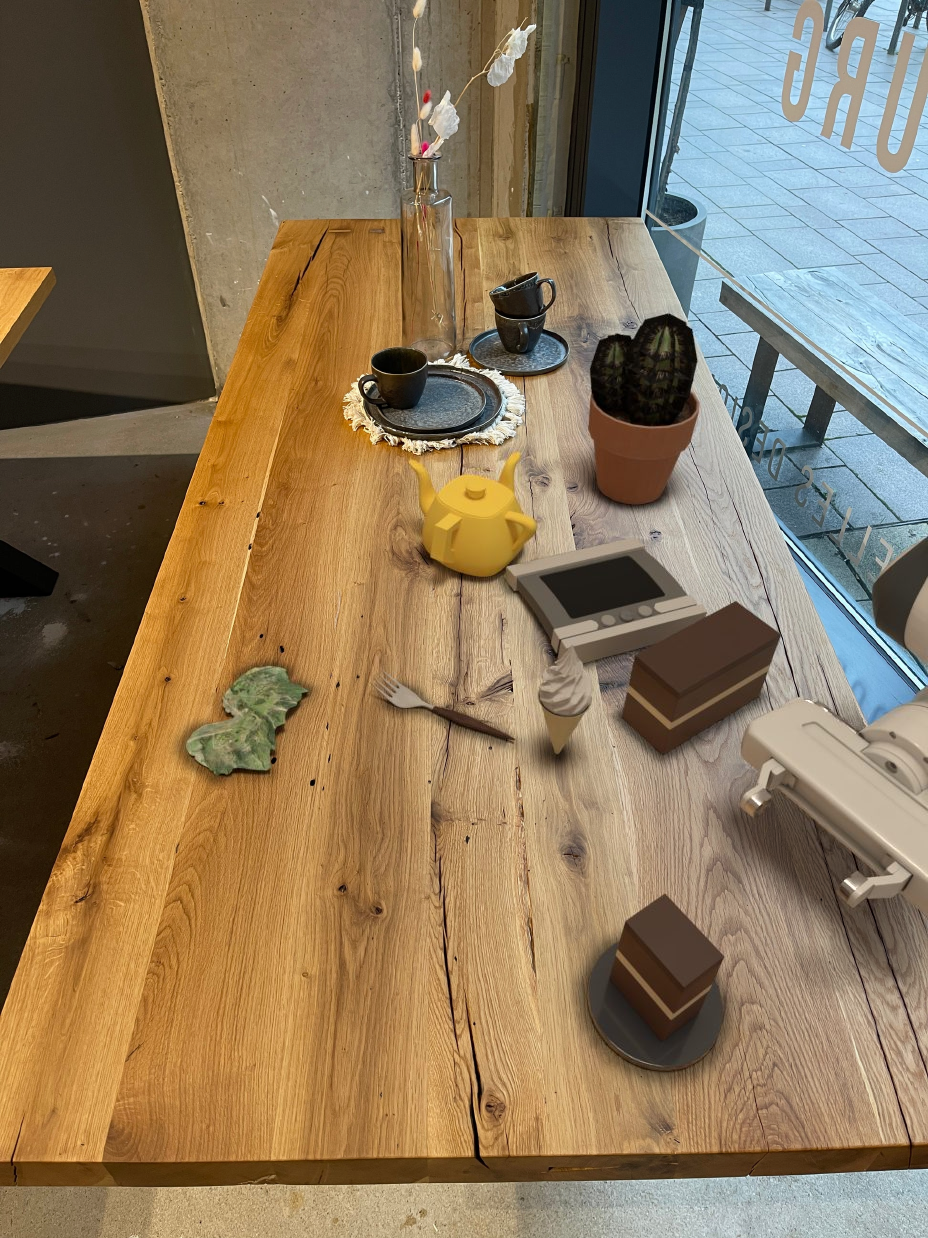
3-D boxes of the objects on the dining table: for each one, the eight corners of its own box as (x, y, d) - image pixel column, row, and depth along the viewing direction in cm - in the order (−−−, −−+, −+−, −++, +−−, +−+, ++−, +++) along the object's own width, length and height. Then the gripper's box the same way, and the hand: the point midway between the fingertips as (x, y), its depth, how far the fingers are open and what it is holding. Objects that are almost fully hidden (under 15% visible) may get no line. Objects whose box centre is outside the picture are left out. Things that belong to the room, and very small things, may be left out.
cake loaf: (717, 662, 99) (735, 600, 93) (759, 696, 96) (781, 634, 90) (621, 716, 93) (634, 654, 87) (662, 755, 90) (679, 693, 84)
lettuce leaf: (264, 786, 86) (262, 776, 85) (172, 766, 87) (169, 756, 86) (320, 674, 97) (318, 664, 96) (237, 658, 98) (234, 647, 97)
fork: (509, 752, 90) (510, 739, 88) (369, 696, 95) (368, 683, 93) (520, 734, 91) (521, 721, 90) (382, 679, 96) (381, 666, 95)
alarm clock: (566, 648, 96) (506, 547, 106) (560, 676, 99) (503, 575, 109) (707, 611, 100) (637, 518, 110) (697, 639, 104) (630, 546, 114)
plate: (702, 937, 76) (704, 933, 75) (736, 1068, 68) (739, 1064, 68) (578, 942, 75) (579, 938, 75) (598, 1075, 68) (599, 1070, 67)
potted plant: (656, 452, 130) (689, 279, 113) (698, 508, 120) (741, 327, 103) (565, 465, 127) (585, 289, 110) (601, 522, 117) (629, 339, 100)
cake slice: (645, 951, 74) (665, 893, 68) (699, 1012, 70) (725, 956, 64) (608, 978, 72) (624, 921, 66) (661, 1042, 69) (684, 988, 62)
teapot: (515, 513, 118) (519, 447, 112) (539, 579, 109) (546, 511, 102) (409, 522, 117) (408, 456, 110) (424, 591, 107) (424, 522, 100)
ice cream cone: (527, 767, 88) (538, 658, 78) (536, 728, 92) (549, 619, 82) (578, 777, 88) (597, 669, 77) (586, 738, 91) (605, 629, 81)
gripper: (815, 666, 79) (702, 735, 73) (1039, 831, 67) (926, 930, 61) (795, 715, 84) (688, 784, 78) (1003, 878, 71) (894, 975, 65)
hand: (794, 850), depth 69 cm, fingers open, 8 cm apart
